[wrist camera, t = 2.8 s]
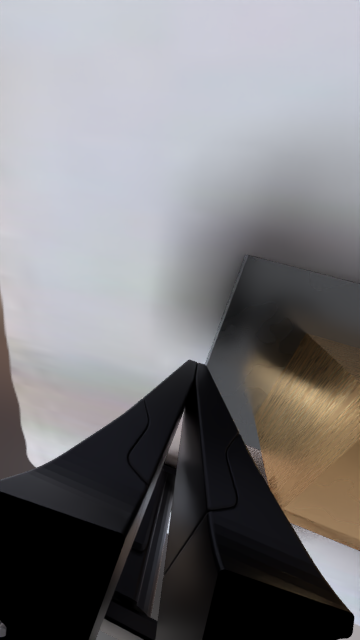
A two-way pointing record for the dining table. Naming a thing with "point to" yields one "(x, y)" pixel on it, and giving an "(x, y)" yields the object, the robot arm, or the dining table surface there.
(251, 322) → the grey stepped plate
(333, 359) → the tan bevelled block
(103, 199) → the dining table surface
